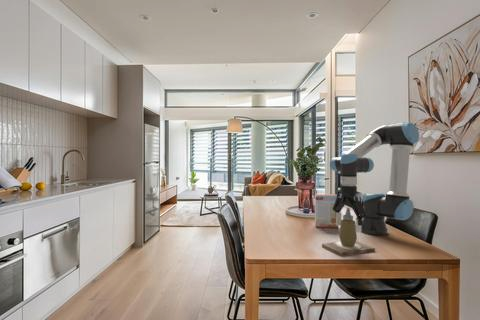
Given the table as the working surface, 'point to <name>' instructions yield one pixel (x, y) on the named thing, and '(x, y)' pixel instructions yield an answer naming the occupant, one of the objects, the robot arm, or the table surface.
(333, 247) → the walnut board
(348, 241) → the squeeze bottle
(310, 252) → the table surface
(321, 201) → the cracker box
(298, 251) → the table surface
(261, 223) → the table surface
